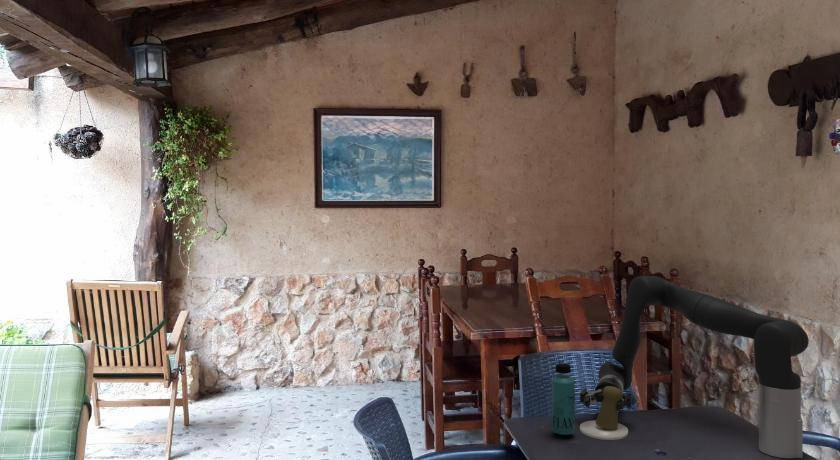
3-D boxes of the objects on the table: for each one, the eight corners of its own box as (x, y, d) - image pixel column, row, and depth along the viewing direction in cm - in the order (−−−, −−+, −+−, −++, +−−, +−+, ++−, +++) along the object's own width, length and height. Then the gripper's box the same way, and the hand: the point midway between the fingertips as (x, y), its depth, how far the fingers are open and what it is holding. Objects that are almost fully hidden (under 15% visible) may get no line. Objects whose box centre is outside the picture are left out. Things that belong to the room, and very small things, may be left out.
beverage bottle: (548, 438, 167) (547, 365, 166) (555, 430, 173) (554, 360, 172) (572, 441, 164) (571, 368, 163) (578, 433, 170) (577, 362, 169)
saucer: (630, 426, 174) (630, 423, 174) (626, 442, 163) (626, 439, 162) (583, 421, 180) (583, 418, 180) (576, 436, 168) (576, 432, 168)
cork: (618, 431, 168) (626, 392, 168) (596, 426, 169) (603, 387, 169) (615, 425, 174) (622, 387, 174) (594, 420, 175) (601, 382, 175)
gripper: (585, 375, 188) (576, 389, 173) (634, 379, 182) (629, 395, 167) (585, 399, 188) (577, 415, 173) (634, 404, 182) (629, 422, 167)
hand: (602, 405), depth 170 cm, fingers open, 8 cm apart
